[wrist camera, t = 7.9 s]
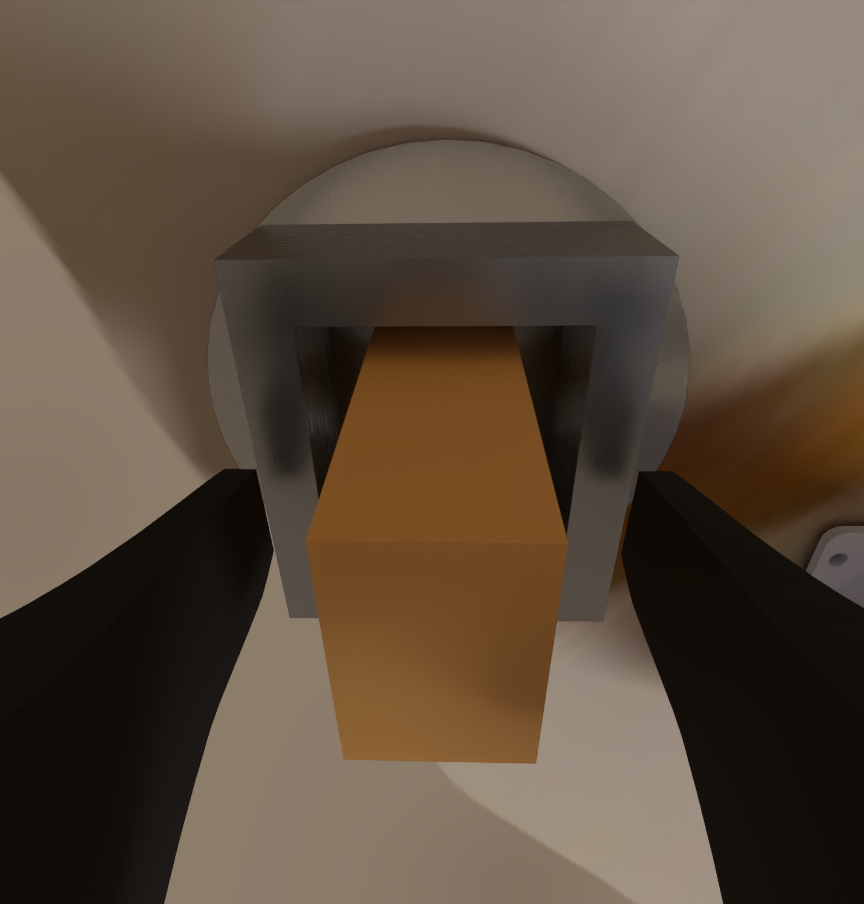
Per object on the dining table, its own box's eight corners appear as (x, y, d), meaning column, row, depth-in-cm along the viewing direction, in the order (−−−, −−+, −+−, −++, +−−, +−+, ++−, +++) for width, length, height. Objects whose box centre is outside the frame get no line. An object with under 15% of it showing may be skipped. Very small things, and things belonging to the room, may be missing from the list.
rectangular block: (509, 311, 13) (567, 542, 7) (499, 471, 16) (535, 763, 9) (379, 312, 13) (305, 541, 7) (390, 471, 16) (344, 759, 9)
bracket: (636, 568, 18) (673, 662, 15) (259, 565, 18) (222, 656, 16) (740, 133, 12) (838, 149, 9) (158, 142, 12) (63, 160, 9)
